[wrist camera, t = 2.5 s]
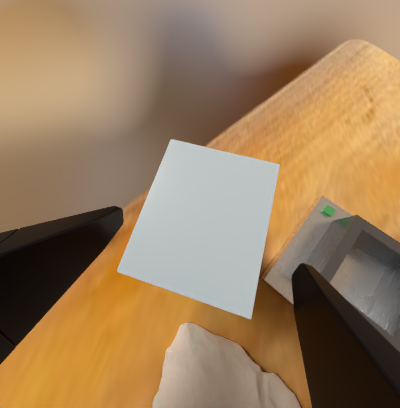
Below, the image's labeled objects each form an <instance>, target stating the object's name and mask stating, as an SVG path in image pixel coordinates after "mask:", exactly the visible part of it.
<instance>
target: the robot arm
mask: <svg viewBox="0 0 400 408" xmlns="http://www.w3.org/2000/svg"><path fill="white" fill-rule="evenodd" d="M123 221H124V220H123V210H122V208H119V207H117V206H112V207H107V208H103V209H99V210H95V211H91V212H86V213H82V214H78V215H74V216H69V217H65V218H61V219H57V220H53V221H48V222H44V223H40V224H36V225H32V226H27V227H23V228H20V229H15V230H10V231H6V232H2V233H0V364H1V363H2V362H3V361H4V360H5V359H6V358H7V357H8V355H9V354H10V353H11V352H12V351H13V350H14V349H15V348H16V346H17V345H18V344H19V343H20V342H21V341H22V340H23V339H24V337H25V336H26V335H27V334H28V333H29V332H30V331H31V330H32V329H33V328H34V326H35V325H36V324H37V323H38V322H39V321H40V320H41V319H42V318H43V316H44V315H45V314H46V313H47V312H48V311H49V310H50V309H51V308H52V306H53V305H54V304H55V303H56V302H57V301H58V300H59V299H60V298H61V296H62V295H63V294H64V293H65V292H66V291H67V290H68V289H69V288H70V287H71V285H72V284H73V283H74V282H75V281H76V280H77V279H78V278H79V277H80V275H81V274H82V273H83V272H84V271H85V270H86V269H87V268H88V267H89V265H90V264H91V263H92V262H93V261H94V260H95V259H96V258H97V257H98V255H99V254H100V253H101V252H102V251H103V250H104V249H105V247H106V246H107V245H108V244H109V242H110V241H111V239H112V238H113V237H114V235H115V234H116V233H117V231H118V230H119V229H120V227H121V226H122V224H123ZM291 281H292V293H293V305H294V314H295V320H296V325H297V330H298V335H299V341H300V346H301V351H302V356H303V362H304V367H305V372H306V377H307V383H308V388H309V393H310V398H311V404H312V408H400V352H399V351H398V350H397V349H396V348H395V347H394V346H393V345H392V344H391V343H390V342H389V341H388V340H387V339H386V338H385V337H384V336H383V335H382V334H381V333H380V332H379V331H378V330H377V329H376V328H375V327H374V326H373V325H372V324H371V323H370V322H369V321H368V320H367V319H366V318H365V317H364V316H363V315H362V314H360V313H359V312H358V311H357V310H356V309H355V308H354V307H353V306H352V305H351V304H350V303H349V302H348V301H347V300H346V299H345V298H344V297H343V296H342V295H341V294H340V293H339V292H338V291H337V290H336V289H335V288H334V287H333V286H332V285H331V284H330V283H329V282H328V281H327V280H326V279H325V278H324V277H323V276H322V275H321V274H320V273H319V272H318V271H317V270H316V269H315V268H314V267H313V266H311V265H308V264H305V263H300V264H299V266H298V267H297V268H296V270H295V271H294V272H293V274H292V277H291Z"/></svg>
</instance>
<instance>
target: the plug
mask: <svg viewBox="0 0 400 408" xmlns="http://www.w3.org/2000/svg"><path fill="white" fill-rule="evenodd" d="M279 166H280V164H276V163H272V162H267V161H263V160H259V159H255V158H250V157H246V156H242V155H237V154H233V153H229V152H224V151H220V150H216V149H211V148H207V147H203V146H198V145H194V144H190V143H186V142H181V141H177V140H173V139H171V141H170V143H169V146H168V148H167V150H166V153H165V155H164V157H163V160H162V162H161V165H160V167H159V170H158V172H157V175H156V177H155V180H154V182H153V184H152V187H151V189H150V191H149V194H148V196H147V199H146V201H145V204H144V206H143V208H142V211H141V213H140V216H139V218H138V221H137V223H136V225H135V228H134V230H133V233H132V235H131V237H130V240H129V242H128V245H127V247H126V250H125V252H124V254H123V257H122V259H121V262H120V264H119V267H118V269H117V271H116V272H119V273H122V274H125V275H128V276H130V277H133V278H136V279H139V280H142V281H144V282H147V283H150V284H153V285H156V286H158V287H161V288H164V289H167V290H170V291H172V292H175V293H178V294H181V295H184V296H186V297H189V298H192V299H195V300H198V301H200V302H203V303H206V304H209V305H212V306H214V307H217V308H220V309H223V310H226V311H228V312H231V313H234V314H237V315H240V316H242V317H245V318H248V319H251V317H252V312H253V306H254V301H255V295H256V290H257V285H258V279H259V274H260V268H261V263H262V258H263V252H264V247H265V242H266V236H267V231H268V225H269V220H270V215H271V209H272V204H273V198H274V193H275V188H276V182H277V177H278V172H279Z"/></svg>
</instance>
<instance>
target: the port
mask: <svg viewBox="0 0 400 408" xmlns="http://www.w3.org/2000/svg"><path fill="white" fill-rule="evenodd" d="M300 263H305V264H308V265H311V266H313V267H314V268H315V269H316V270H317V271H318V272H319V273H320V274H321V275H322V276H323V277H324V278H325V279H326V280H327V281H328V282H329V283H330V284H331V285H332V286H333V287H334V288H335V289H336V290H337V291H338V292H339V293H340V294H341V295H342V296H343V297H344V298H345V299H346V300H347V301H348V302H349V303H350V304H351V305H352V306H353V307H354V308H355V309H356V310H357V311H358V312H359V313H360V314H362V315H363V316H364V317H365V318H366V319H367V320H368V321H369V322H370V323H371V324H372V325H373V326H374V327H375V328H376V329H377V330H378V331H379V332H380V333H381V334H382V335H383V336H384V337H385V338H386V339H387V340H388V341H389V342H390V343H391V344H392V345H393V346H394V347H395V348H396V349H397V350H398V351H399V352H400V243H399V242H398V241H396V240H395V239H393V238H392V237H390V236H389V235H387V234H385V233H384V232H382V231H381V230H379V229H378V228H376V227H375V226H373V225H372V224H370V223H369V222H367V221H366V220H364V219H363V218H361V217H359V216H358V215H355V216H352V215H351V214H349V213H348V212H346V211H345V210H343V209H342V208H340V207H339V206H337V205H336V204H334V203H333V202H331V201H330V200H328V199H327V198H325V197H324V196H322V197H320V198H317V199H316V200H315V201H314V203H313V204H312V206H311V207H310V208H309V210H308V211H307V213H306V214H305V215H304V217H303V218H302V220H301V221H300V222H299V224H298V225H297V227H296V228H295V230H294V231H293V232H292V234H291V235H290V237H289V238H288V239H287V241H286V242H285V244H284V245H283V246H282V248H281V249H280V251H279V252H278V253H277V255H276V256H275V258H274V259H273V261H272V262H271V263H270V265H269V266H268V268H267V269H266V270H265V272H264V273H263V275H262V276H261V277H260V278H262V279H263V280H264V281H265V282H266V283H267V284H269V285H270V286H271V287H272V288H273V289H274V290H276V291H277V292H278V293H279V294H280V295H281V296H283V297H284V298H285V299H286V300H287V301H288V302H290V303H291V304H292V305H293V293H292V281H291V277H292V274H293V272H294V271H295V270H296V268H297V267H298V266H299V264H300ZM293 306H294V305H293Z"/></svg>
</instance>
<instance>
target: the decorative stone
mask: <svg viewBox="0 0 400 408" xmlns="http://www.w3.org/2000/svg"><path fill="white" fill-rule="evenodd" d="M152 408H301V407H300V404H299V402H298V401H297V399H296V396H295V394H294V393H293V392H292V391H290V390H289V388H288V387H287V386H286V385H285V384H284V383H283V381H282V380H281V379H280V378H279V377H278V376H277V375H275V374H274V373H273V372H272V373H267V372H262V370H261V368H260V366H259V365H257V364H255V363H254V362H253V361H252V360H251V358H250V357H249V356H248V355H247V354H246V352H245V351H244V350H243V348H242V347H241V346H240V345H239V344H238V343H236V342H232V341H230V340H228V339H226V338H224V337H222V336H218V335H214V334H213V333H210V332H209V331H207V330H206V329H204V328H202V327H200V326H198V325H197V324H194V323H190V322H187V323H185V324H182V325H181V326H180V328H179V330H178V333H177V335H176V337H175V339H174V341H173V343H172V344H171V346H170V347H169V348H167V350H166V353H165V360H164V363H163V372H162V379H161V383H160V387H159V390H158V393H157V394H156V396H155V398H154V400H153V405H152Z"/></svg>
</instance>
